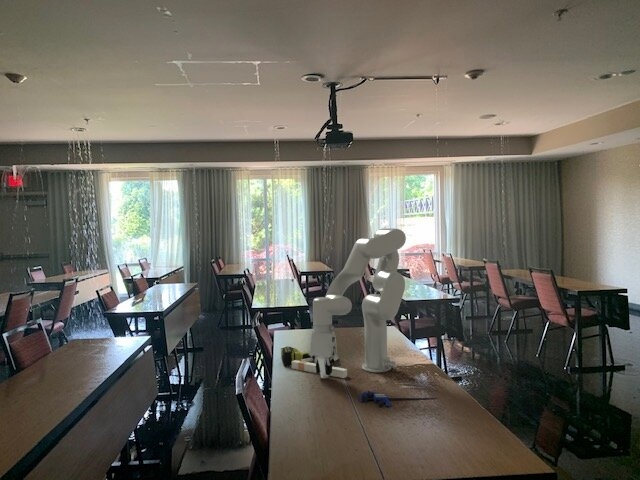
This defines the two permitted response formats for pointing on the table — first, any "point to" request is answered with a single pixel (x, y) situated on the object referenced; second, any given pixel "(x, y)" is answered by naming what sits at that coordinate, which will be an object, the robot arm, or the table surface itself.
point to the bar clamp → (383, 398)
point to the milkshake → (322, 366)
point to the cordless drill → (293, 355)
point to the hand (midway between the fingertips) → (324, 372)
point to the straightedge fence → (312, 368)
